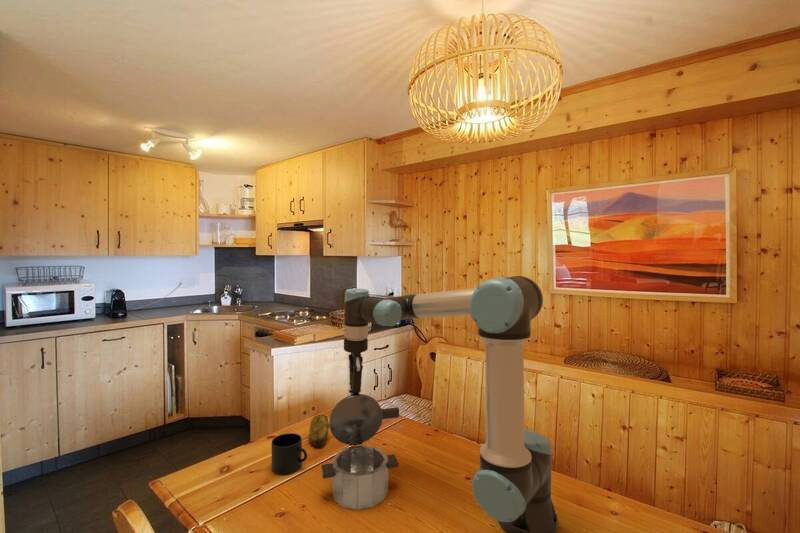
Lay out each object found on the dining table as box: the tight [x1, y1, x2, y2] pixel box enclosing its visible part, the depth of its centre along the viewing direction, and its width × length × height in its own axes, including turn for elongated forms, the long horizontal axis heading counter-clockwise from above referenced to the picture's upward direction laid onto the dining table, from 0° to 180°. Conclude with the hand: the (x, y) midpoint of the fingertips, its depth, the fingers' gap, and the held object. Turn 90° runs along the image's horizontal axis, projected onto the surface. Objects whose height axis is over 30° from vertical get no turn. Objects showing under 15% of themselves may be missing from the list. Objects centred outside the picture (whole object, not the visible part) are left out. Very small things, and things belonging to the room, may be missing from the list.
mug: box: [271, 432, 308, 476], centre depth 123 cm, size 9×12×9 cm
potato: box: [308, 414, 330, 448], centre depth 141 cm, size 8×13×8 cm, turn 172°
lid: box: [328, 393, 400, 447], centre depth 119 cm, size 17×22×3 cm
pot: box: [321, 444, 399, 511], centre depth 112 cm, size 17×22×9 cm
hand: (354, 410), depth 120 cm, fingers closed
